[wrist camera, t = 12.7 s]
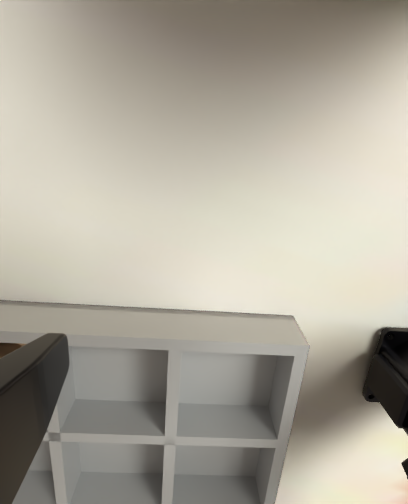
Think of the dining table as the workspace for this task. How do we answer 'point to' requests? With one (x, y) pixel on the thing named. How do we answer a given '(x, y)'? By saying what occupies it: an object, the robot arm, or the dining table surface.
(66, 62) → the dining table surface
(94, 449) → the tray
